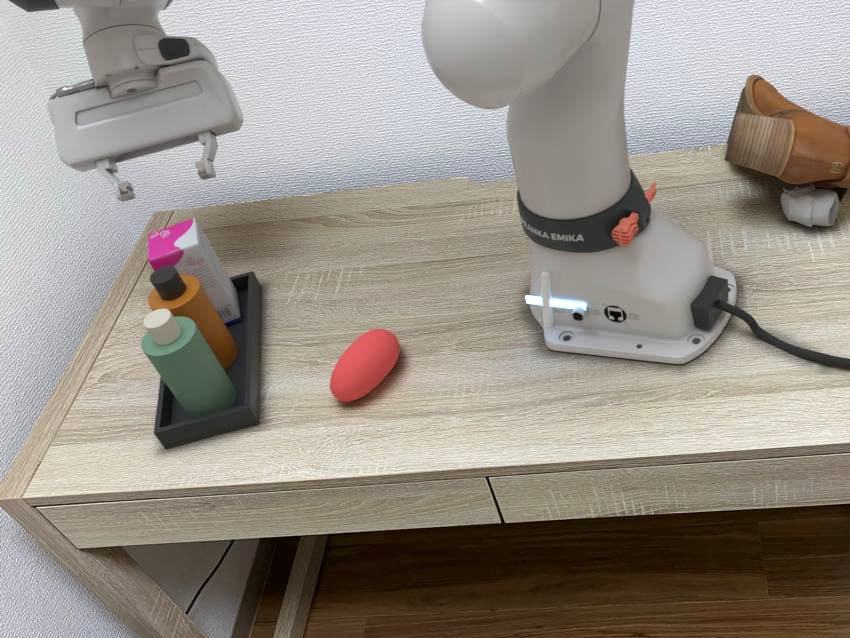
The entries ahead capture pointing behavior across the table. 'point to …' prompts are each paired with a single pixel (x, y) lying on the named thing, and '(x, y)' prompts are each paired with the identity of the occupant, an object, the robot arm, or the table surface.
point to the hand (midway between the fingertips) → (167, 188)
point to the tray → (242, 373)
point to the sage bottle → (187, 364)
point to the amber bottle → (193, 310)
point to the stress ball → (364, 364)
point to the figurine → (810, 205)
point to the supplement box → (196, 264)
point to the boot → (787, 139)
